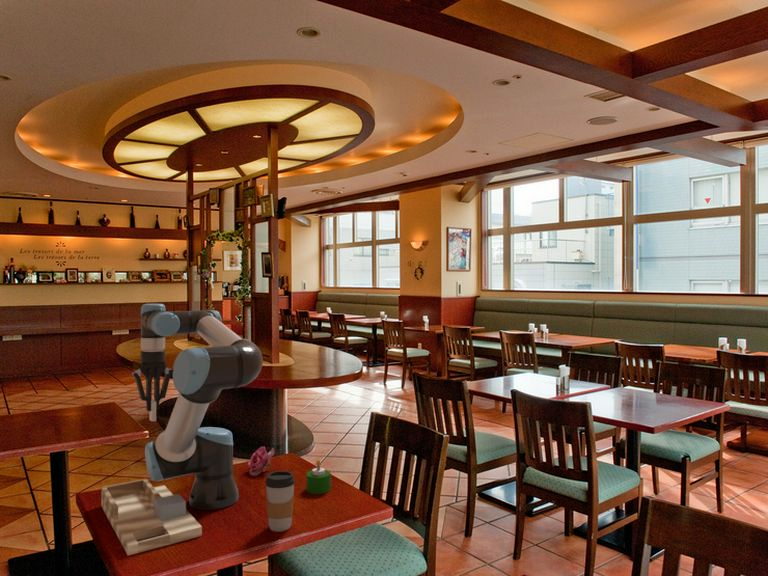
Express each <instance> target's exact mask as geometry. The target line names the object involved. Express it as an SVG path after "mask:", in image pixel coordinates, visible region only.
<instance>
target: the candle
mask: <svg viewBox="0 0 768 576" xmlns="http://www.w3.org/2000/svg"><path fill="white" fill-rule="evenodd" d="M321 463H322V462H321V461H320V460H319V459H318V460H317V461H316V464H315V465H316V467H315V468H312V469H311V470H309V471H307V472H306V474H305V475H306V477H305V478H306V479H305V480H306V482H305V483H306V484H305V485H306V486H305V489H306V492H307V493H309V494H312V495H323V494H327V493H329V492H330V491H331V489H332V488H331V487H332V484H331V483H332V478H331V477H332V475H331V474H332V473H331V471H330V470H328V469H325V468H324V467H321V465H322V464H321Z"/></svg>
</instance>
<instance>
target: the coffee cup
mask: <svg viewBox="0 0 768 576" xmlns="http://www.w3.org/2000/svg"><path fill="white" fill-rule="evenodd" d="M295 482H296V481H295V477H294V474H293V472H292V471H288V470H277V471H271V472H270V473H268V474H267V476H266V479H265V486H266V487H265V488H266V506H267V518H268V520H267V521H268V527H269V529H270V531H272V532H278V533H279V532H284V531H287V530H289V529H290V528H291V526H292V521H293V519H292V518H293V511H294V510H293V508H294V495H295V493H294V490H295V488H294V487H295Z"/></svg>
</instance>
